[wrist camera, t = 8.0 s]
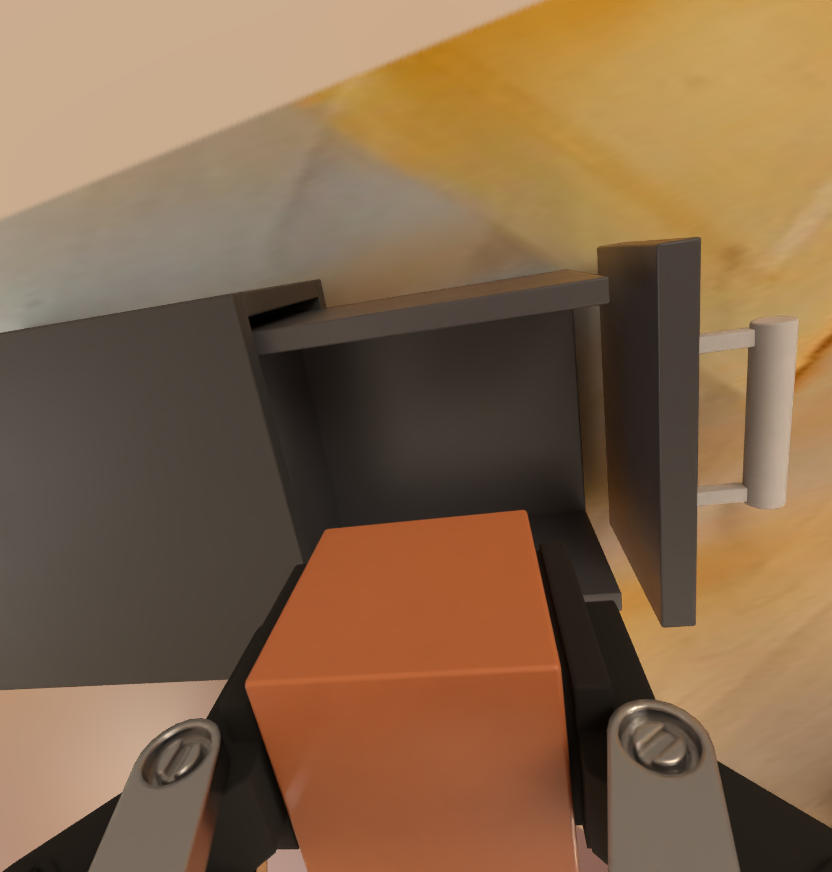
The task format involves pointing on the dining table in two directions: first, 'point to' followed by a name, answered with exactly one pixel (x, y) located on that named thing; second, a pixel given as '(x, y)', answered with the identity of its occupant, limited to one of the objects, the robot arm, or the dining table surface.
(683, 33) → the dining table surface
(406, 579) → the block
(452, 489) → the drawer
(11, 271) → the dining table surface
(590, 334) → the dining table surface
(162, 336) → the cabinet
